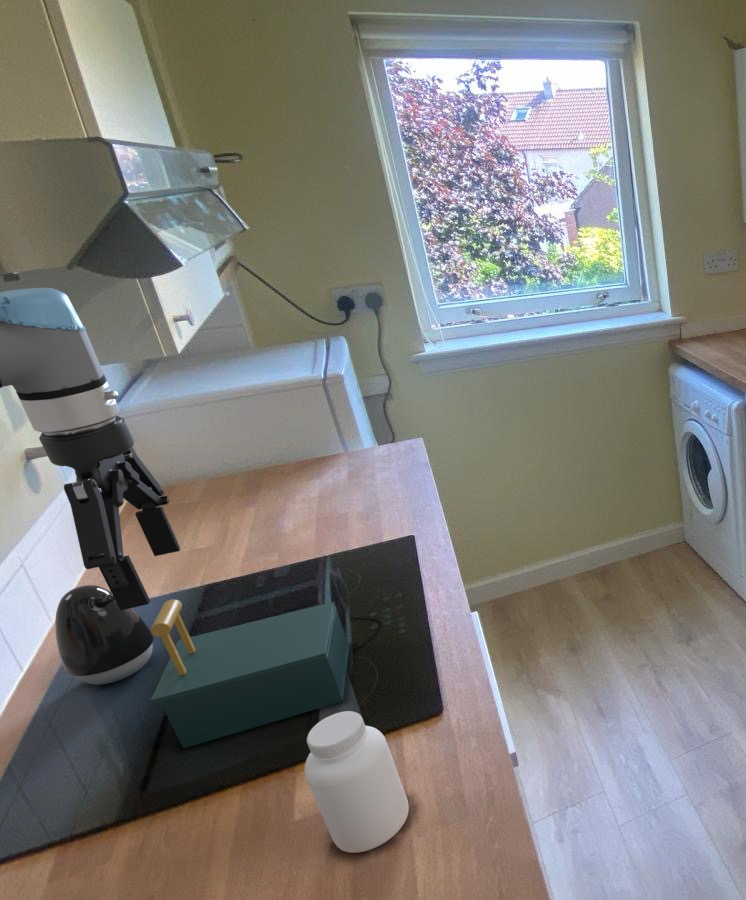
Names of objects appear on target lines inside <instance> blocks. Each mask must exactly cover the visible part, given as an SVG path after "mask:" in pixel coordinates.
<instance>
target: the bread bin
mask: <svg viewBox="0 0 746 900" xmlns="http://www.w3.org/2000/svg"><path fill="white" fill-rule="evenodd" d="M349 653H350V644H349V642H348V638H347V635H346V633H345V630H344V627H343V623H342V622H341V619H340V616H339V613H338V610H337V607H336V606H335V611H334V617H333V623H332V629H331V636H330V642H329V648H328V654H327V658H324V659H320V660H316V661H313V662H309V663H305V664H302V665H298V666H294V667H291V668H287V669H283V670H280V671H276V672H272V673H268V674H265V675H261V676H257V677H254V678H250V679H246V680H243V681H239V682H235V683H232V684H228V685H224V686H221V687H217V688H213V689H210V690H206V691H202V692H199V693H195V694H191V695H188V696H184V697H180V698H177V699H173V700H169V701H166V702H162V703H160V704H161V707H162V709H163V710H164V712H165V715H166V717H167V718H168V721H169V722H170V725H171V726H172V729H173V731H174V733H175V735H176V736H177V739H178V741H179V743H180V745H181V747H182V749H186V748H191V747H194V746H198V745H200V744H203V743H206V742H210V741H213V740H217V739H220V738H224V737H226V736H227V737H228V736H230V735H234V734H237V733H240V732H244V731H247V730H251V729H255V728H257V727H261V726H265V725H269V724H271V723H275V722H278V721H281V720H285V719H288V718H291V717H294V716H298V715H303V714H305V713H308V712H311V711H315V710H318V709H322V708H326V707H329V706H332V705H335V704H339V703H342V702H344V696H345V686H346V678H347V671H348V664H349V663H348V662H349Z"/></svg>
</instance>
